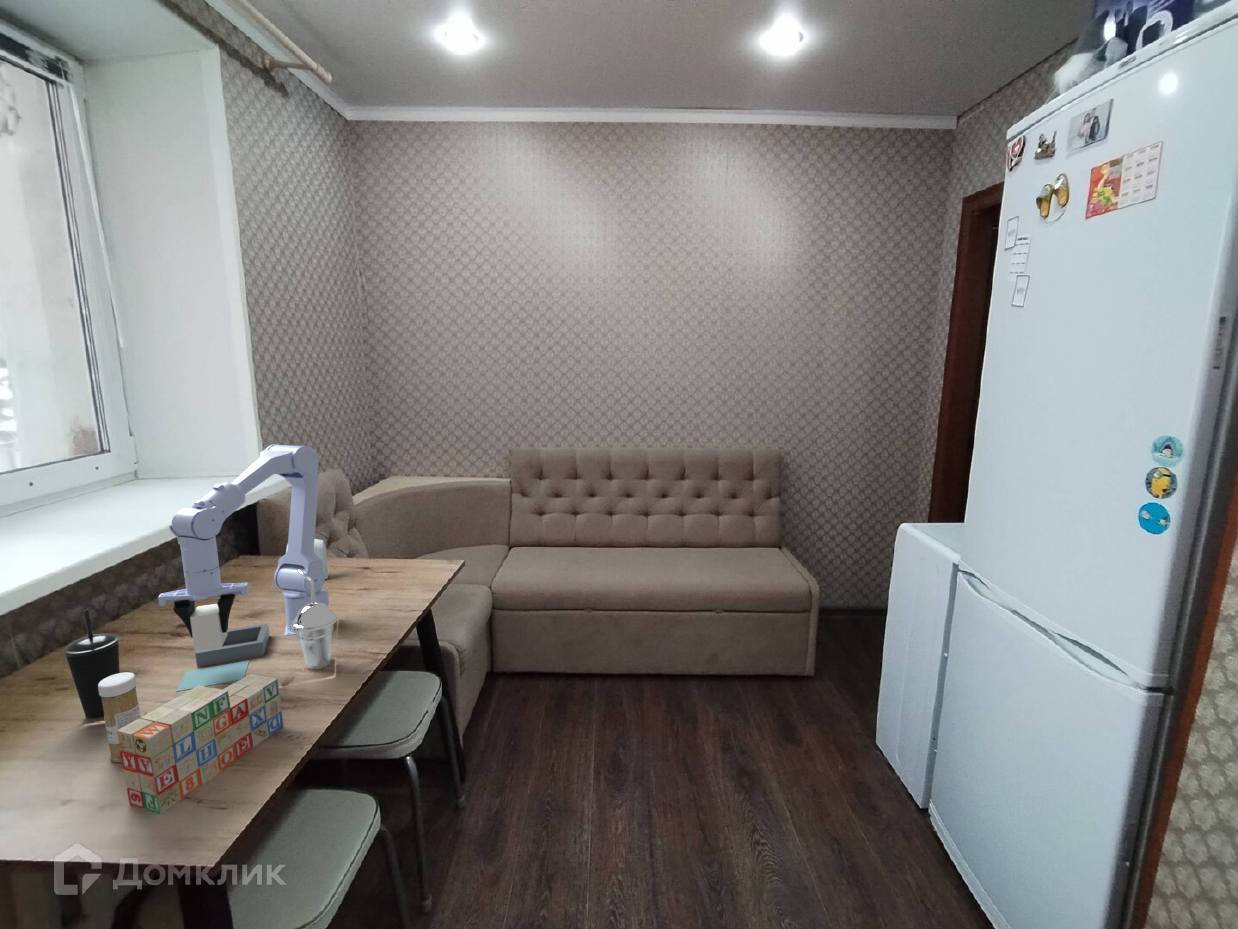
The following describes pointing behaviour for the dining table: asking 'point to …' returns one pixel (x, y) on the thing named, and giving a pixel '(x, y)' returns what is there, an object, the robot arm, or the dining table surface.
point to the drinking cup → (92, 666)
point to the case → (237, 646)
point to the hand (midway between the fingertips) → (209, 633)
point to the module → (207, 628)
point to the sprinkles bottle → (118, 707)
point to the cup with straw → (315, 630)
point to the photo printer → (320, 554)
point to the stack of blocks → (195, 739)
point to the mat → (213, 675)
